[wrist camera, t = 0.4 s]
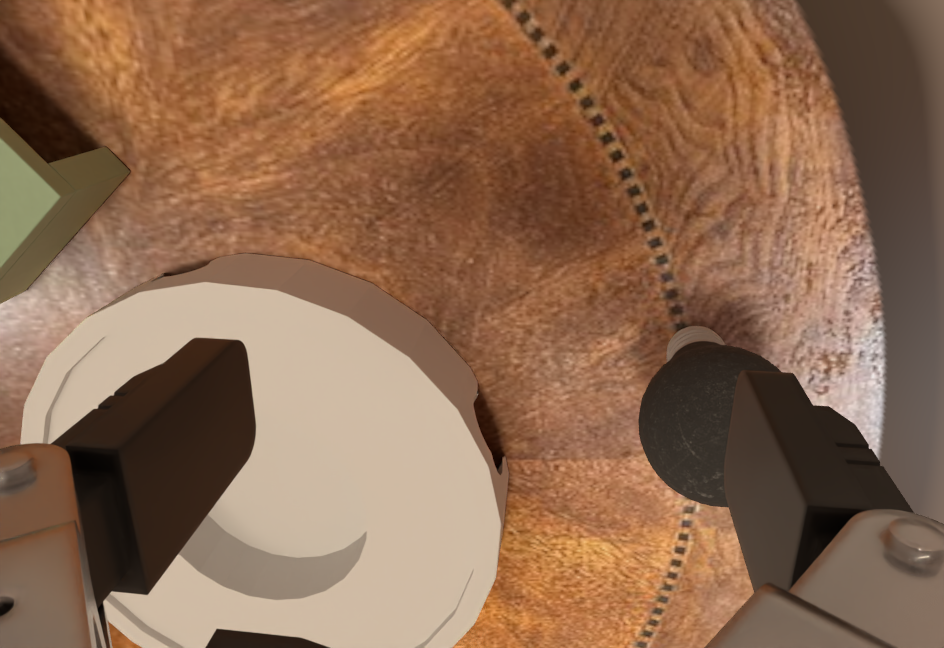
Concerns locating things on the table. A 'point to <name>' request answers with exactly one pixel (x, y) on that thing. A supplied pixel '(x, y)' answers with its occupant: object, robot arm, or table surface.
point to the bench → (45, 205)
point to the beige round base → (306, 460)
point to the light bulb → (694, 412)
